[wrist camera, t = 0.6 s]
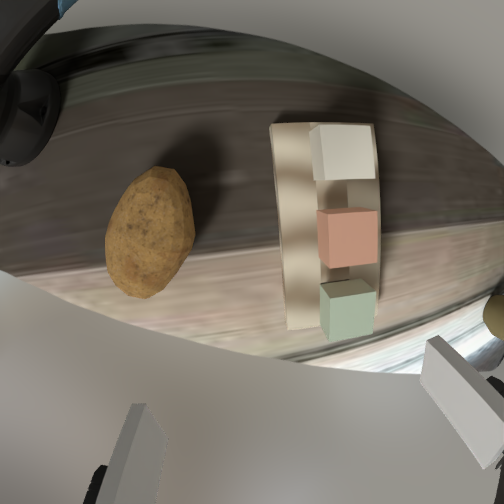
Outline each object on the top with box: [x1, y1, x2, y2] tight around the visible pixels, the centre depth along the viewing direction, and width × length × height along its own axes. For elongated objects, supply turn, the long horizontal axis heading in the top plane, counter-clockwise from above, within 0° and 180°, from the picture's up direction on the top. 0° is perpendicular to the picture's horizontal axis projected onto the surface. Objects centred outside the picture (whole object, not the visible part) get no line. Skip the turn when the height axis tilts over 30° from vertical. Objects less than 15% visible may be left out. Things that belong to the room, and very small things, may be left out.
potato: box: [105, 166, 195, 299], centre depth 28 cm, size 10×14×8 cm
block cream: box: [309, 125, 375, 180], centre depth 26 cm, size 5×5×6 cm
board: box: [269, 122, 381, 331], centre depth 31 cm, size 24×12×2 cm, turn 6°
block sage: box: [320, 279, 376, 342], centre depth 29 cm, size 5×5×6 cm
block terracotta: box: [316, 207, 378, 269], centre depth 27 cm, size 5×5×6 cm
